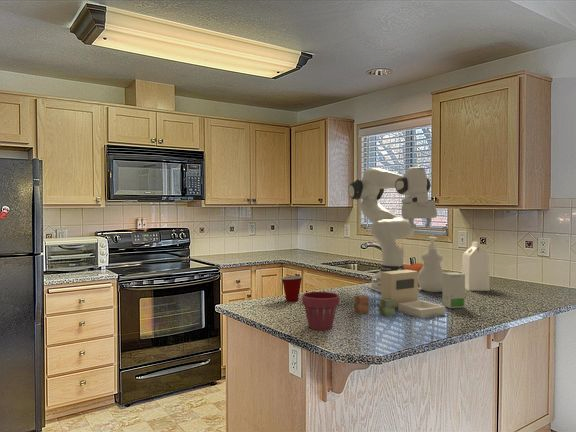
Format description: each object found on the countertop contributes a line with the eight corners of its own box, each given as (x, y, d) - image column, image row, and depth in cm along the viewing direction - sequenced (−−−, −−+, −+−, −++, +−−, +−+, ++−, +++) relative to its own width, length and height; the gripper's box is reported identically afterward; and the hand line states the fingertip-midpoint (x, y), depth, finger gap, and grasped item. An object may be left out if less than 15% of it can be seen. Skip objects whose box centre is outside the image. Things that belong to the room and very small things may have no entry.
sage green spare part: (379, 314, 200) (379, 298, 200) (387, 313, 202) (387, 297, 202) (386, 317, 196) (386, 300, 196) (394, 315, 198) (394, 299, 198)
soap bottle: (451, 292, 248) (452, 237, 247) (438, 294, 241) (439, 238, 240) (425, 287, 261) (425, 235, 260) (412, 289, 254) (412, 236, 253)
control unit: (377, 306, 215) (377, 271, 215) (406, 302, 224) (406, 268, 223) (391, 310, 207) (391, 274, 206) (421, 306, 215) (421, 271, 215)
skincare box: (449, 308, 211) (450, 274, 210) (441, 305, 217) (441, 272, 217) (465, 307, 213) (465, 273, 213) (456, 304, 220) (457, 271, 219)
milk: (489, 290, 252) (490, 243, 251) (468, 290, 253) (469, 243, 252) (481, 286, 264) (481, 241, 263) (460, 286, 265) (461, 241, 264)
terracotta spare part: (354, 311, 206) (354, 295, 206) (362, 310, 208) (362, 294, 208) (360, 313, 202) (360, 297, 202) (368, 312, 204) (368, 296, 204)
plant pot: (336, 322, 188) (336, 290, 187) (341, 332, 174) (341, 298, 173) (301, 322, 187) (301, 291, 187) (303, 332, 173) (303, 298, 173)
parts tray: (398, 311, 206) (398, 303, 206) (421, 307, 212) (421, 300, 212) (421, 318, 194) (421, 310, 193) (445, 314, 200) (445, 306, 200)
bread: (388, 283, 275) (389, 265, 274) (414, 278, 292) (414, 261, 292) (411, 287, 263) (411, 268, 262) (436, 281, 280) (436, 264, 280)
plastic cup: (290, 297, 236) (290, 273, 235) (307, 300, 229) (307, 276, 228) (276, 300, 227) (276, 276, 227) (293, 304, 220) (293, 279, 220)
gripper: (429, 200, 234) (431, 227, 233) (398, 200, 224) (400, 228, 224) (438, 198, 229) (440, 226, 228) (408, 198, 219) (409, 228, 218)
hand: (420, 227), depth 226 cm, fingers open, 8 cm apart
